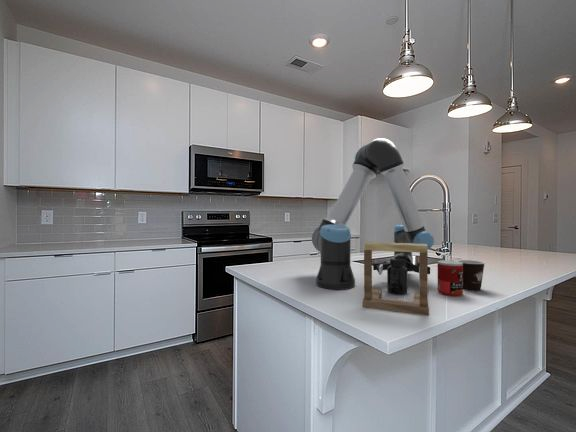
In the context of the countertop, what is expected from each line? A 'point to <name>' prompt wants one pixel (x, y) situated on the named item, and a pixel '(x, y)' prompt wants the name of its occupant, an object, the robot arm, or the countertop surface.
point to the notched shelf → (374, 295)
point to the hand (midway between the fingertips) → (399, 272)
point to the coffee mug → (472, 274)
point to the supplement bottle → (397, 277)
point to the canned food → (450, 278)
